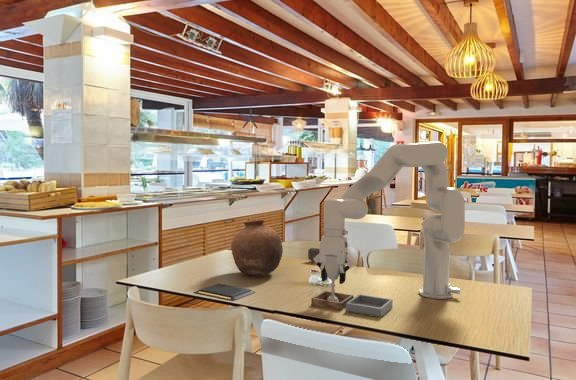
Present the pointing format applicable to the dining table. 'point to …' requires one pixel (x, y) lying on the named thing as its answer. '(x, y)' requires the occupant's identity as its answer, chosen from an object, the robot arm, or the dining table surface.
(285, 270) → the dining table surface
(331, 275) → the chalice
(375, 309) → the parts tray
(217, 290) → the dark grey book
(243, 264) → the pottery
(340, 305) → the tray
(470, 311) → the dining table surface
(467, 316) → the dining table surface
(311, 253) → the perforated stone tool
